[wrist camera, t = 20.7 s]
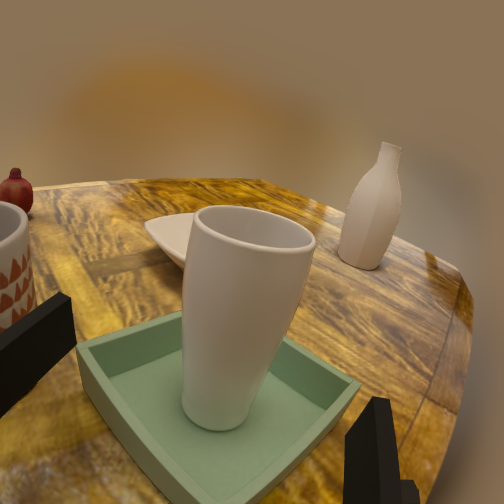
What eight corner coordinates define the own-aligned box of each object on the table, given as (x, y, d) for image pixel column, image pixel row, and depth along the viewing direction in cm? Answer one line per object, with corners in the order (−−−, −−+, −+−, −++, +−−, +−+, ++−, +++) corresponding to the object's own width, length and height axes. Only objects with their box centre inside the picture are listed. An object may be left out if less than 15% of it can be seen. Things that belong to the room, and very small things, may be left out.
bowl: (225, 234, 61) (229, 209, 59) (317, 284, 49) (327, 254, 47) (125, 251, 45) (127, 218, 43) (217, 330, 33) (225, 289, 31)
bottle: (322, 250, 65) (355, 132, 56) (355, 249, 71) (385, 145, 61) (359, 275, 56) (400, 144, 47) (390, 271, 62) (427, 158, 53)
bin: (339, 420, 24) (362, 383, 22) (210, 539, 12) (221, 522, 10) (217, 333, 32) (225, 294, 31) (83, 387, 21) (74, 343, 19)
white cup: (272, 428, 21) (344, 250, 15) (188, 451, 18) (221, 251, 12) (235, 371, 26) (276, 207, 21) (161, 383, 23) (177, 201, 17)
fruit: (14, 210, 49) (15, 162, 45) (41, 216, 50) (42, 165, 46) (-11, 222, 42) (-12, 170, 38) (16, 230, 42) (15, 173, 38)
